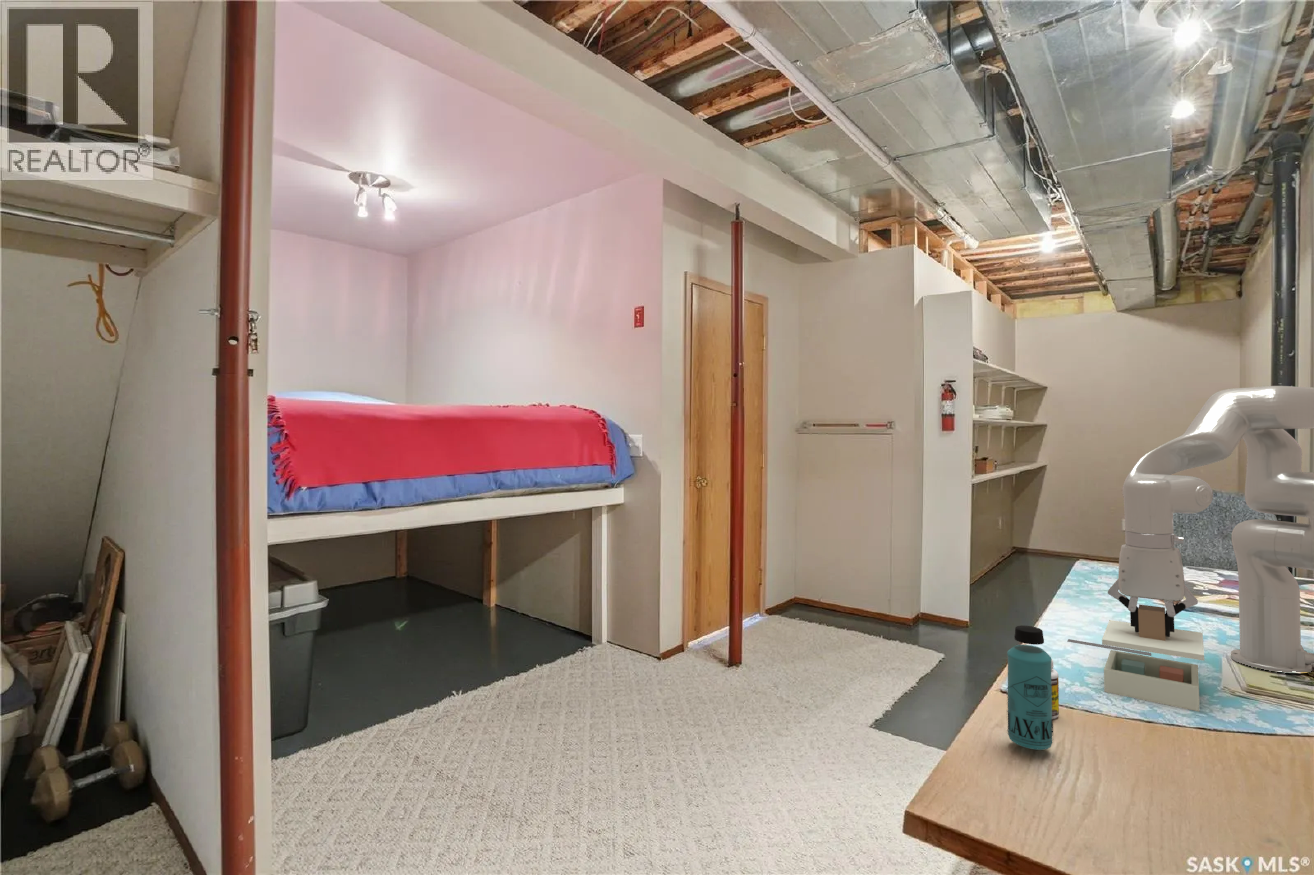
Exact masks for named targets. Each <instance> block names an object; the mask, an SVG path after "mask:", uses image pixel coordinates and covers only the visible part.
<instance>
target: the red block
mask: <svg viewBox="0 0 1314 875" xmlns="http://www.w3.org/2000/svg"><path fill="white" fill-rule="evenodd" d="M1159 678H1161V679H1167V680H1172V681H1177V682H1183V683H1184V672H1183V669H1177V668H1172V667H1166V666H1160V670H1159Z"/></svg>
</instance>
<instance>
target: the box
mask: <svg viewBox="0 0 1314 875" xmlns="http://www.w3.org/2000/svg"><path fill="white" fill-rule="evenodd" d="M1123 659H1127V660H1132V661H1138V662H1143V663H1145V675H1140V674H1135V673H1129V672H1124V671H1122V668H1121V664H1122V660H1123ZM1160 666H1166V667H1172V668H1177V669H1183V672H1184V683H1183V682H1177V681H1172V680H1167V679H1161V678H1159V670H1160ZM1199 677H1200V676H1199V665H1198V664H1194V663H1191V662H1190V663H1188V662H1183V661H1176V660H1170V659H1168V658H1167V659H1165V658H1161V657H1153V656H1148V655H1142V654H1137V653H1131V652H1125V651H1119V650H1113V649H1110V650H1109V653H1108V657H1107V658H1106V663H1105V665H1104V668H1103V685H1104V686H1103V688H1104V690H1103V692H1104V693H1108V694H1113V695H1118V696H1122V697H1127V698H1131V699H1135V700H1136V699H1137V700H1141V701H1144V702H1145V701H1147V702H1150V703H1155V704H1160V705H1165V706H1168V707H1169V706H1170V707H1176V708H1180V709H1184V710H1189V711H1193V712H1199V713H1200V685H1199V684H1200V682H1199V681H1200V679H1199Z"/></svg>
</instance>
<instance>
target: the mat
mask: <svg viewBox="0 0 1314 875" xmlns="http://www.w3.org/2000/svg"><path fill="white" fill-rule="evenodd" d="M1067 643H1071V644H1072V643H1074V644H1079V645H1085V646H1091V647H1097V648H1102V649H1109V650H1114V651H1120V652H1126V653H1132V654H1138V655H1143V656H1149V657H1152V652H1146V651H1140V650H1134V649H1127V648H1121V647H1115V646H1108V645H1102V643H1101V644H1100V643H1096V642H1095V643H1094V642H1089V641H1083V640H1077V639H1072V638H1071V639H1070V638H1068V639H1067Z"/></svg>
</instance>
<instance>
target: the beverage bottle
mask: <svg viewBox="0 0 1314 875" xmlns="http://www.w3.org/2000/svg"><path fill="white" fill-rule="evenodd" d="M1014 629H1015V630H1014V640H1015V641H1016V642H1019V643H1022V644H1016V645H1014V646H1012V647H1011V648H1009V649H1008V650H1007V652H1006V654H1007V688H1006V691H1007V693H1006V695H1007V707H1006V709H1007V728H1006V732H1007V735H1008V738H1009V740H1010V741H1011V742H1012V743H1014V744H1016V745H1018V746H1020V747H1022V748H1026V749H1030V750H1038V751H1039V750H1040V751H1042V750H1044V751H1045V750H1048V749H1050V748H1051V747H1052V745H1053V743H1054V738H1053V734H1054V721H1053V719H1052V707H1053V706H1052V691H1053V690H1052V685H1051V662H1052V660H1053V658H1052V656H1051V655H1050V654H1049V653H1047V651H1046V650H1045V649H1043V648H1041V647H1038V646H1036V645H1043V644H1045V641H1044V640H1045V638H1044V631H1043V629H1041V628H1039V627H1036V626H1032V625H1016V626H1015V628H1014Z"/></svg>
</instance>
